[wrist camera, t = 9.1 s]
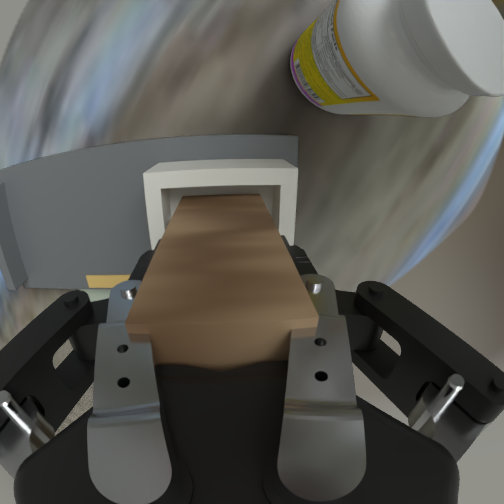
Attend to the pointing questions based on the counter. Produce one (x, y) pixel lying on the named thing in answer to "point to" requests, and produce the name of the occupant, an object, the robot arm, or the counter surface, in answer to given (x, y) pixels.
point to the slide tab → (221, 188)
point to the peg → (221, 287)
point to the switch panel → (99, 206)
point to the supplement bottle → (400, 56)
